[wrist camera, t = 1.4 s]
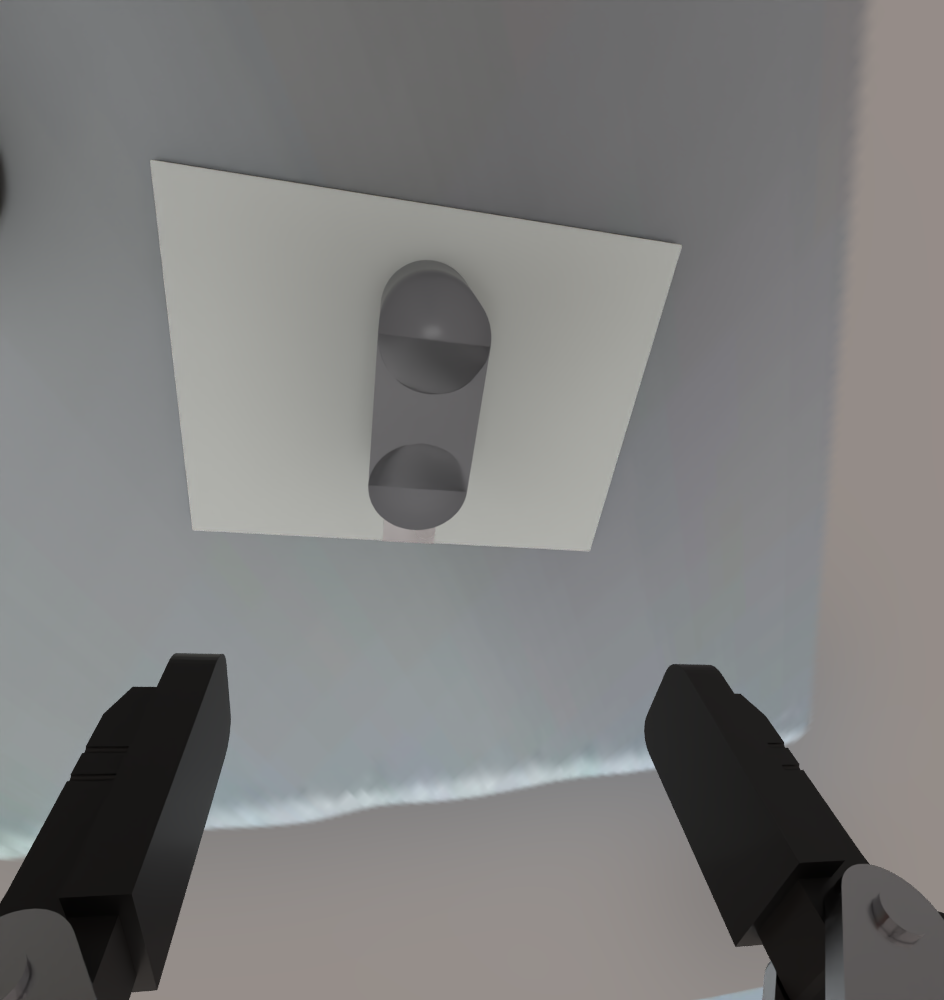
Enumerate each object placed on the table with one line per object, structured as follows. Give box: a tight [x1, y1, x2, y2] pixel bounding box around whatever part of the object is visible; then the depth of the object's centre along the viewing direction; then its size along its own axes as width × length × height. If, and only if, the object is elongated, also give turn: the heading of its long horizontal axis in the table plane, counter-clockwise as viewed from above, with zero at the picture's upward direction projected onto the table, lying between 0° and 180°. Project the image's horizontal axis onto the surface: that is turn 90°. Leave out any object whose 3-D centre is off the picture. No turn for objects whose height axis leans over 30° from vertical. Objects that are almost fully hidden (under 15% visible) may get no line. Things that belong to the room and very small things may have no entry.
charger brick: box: [368, 260, 491, 544], centre depth 24 cm, size 12×4×5 cm, turn 171°
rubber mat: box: [150, 160, 682, 551], centre depth 26 cm, size 16×21×1 cm
